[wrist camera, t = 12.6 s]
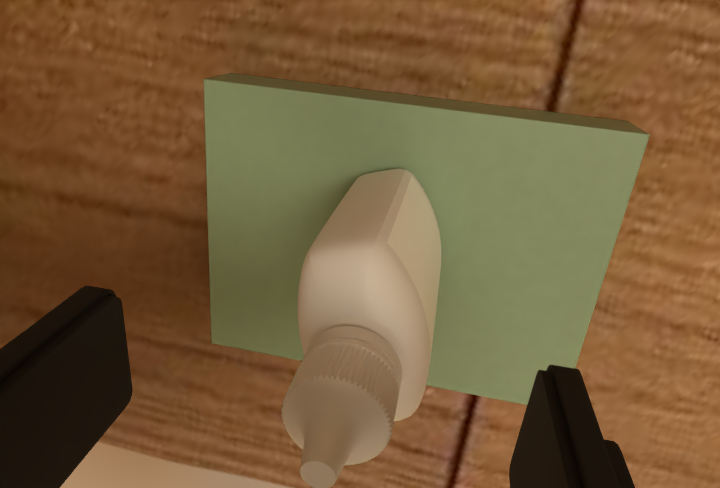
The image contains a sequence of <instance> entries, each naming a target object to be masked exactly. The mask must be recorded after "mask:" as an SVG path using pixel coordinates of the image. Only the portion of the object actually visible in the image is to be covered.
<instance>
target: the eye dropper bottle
mask: <svg viewBox="0 0 720 488" xmlns="http://www.w3.org/2000/svg"><path fill="white" fill-rule="evenodd" d="M440 271H441V238H440V232H439V227H438V223H437V219H436V216H435V213H434V210H433V208H432V205H431V203H430V201H429V199H428V196H427V195H426V193H425V191H424V189H423V187H422V186H421V184H420V183H419V181H418V180H417V179H416V177H415V176H414V175H413V174H412V173H411V172H409V171H408V170H406V169H391V170H385V171H379V172H373V173H368V174H364V175H362V176H360V177H358V178H357V179H356V181H355V182H354V183H353V185H352V186H351V188H350V189H349V190H348V192H347V193H346V195H345V196H344V198H343V199H342V201H341V202H340V203H339V205H338V206H337V208H336V209H335V211H334V212H333V214H332V215H331V217H330V218H329V220H328V221H327V222H326V224H325V225H324V227H323V228H322V230H321V231H320V233H319V235H318V236H317V238H316V239H315V241H314V242H313V244H312V246H311V247H310V249H309V251H308V252H307V254H306V257H305V260H304V263H303V267H302V271H301V277H300V282H299V290H298V325H299V334H300V339H301V344H302V348H303V352H304V357H303V360H302V362H301V364H300V366H299V368H298V370H297V372H296V374H295V376H294V378H293V380H292V382H291V384H290V386H289V388H288V390H287V392H286V394H285V396H284V400H283V404H282V410H281V411H282V418H283V419H282V420H283V422H284V426H285V428H286V430H287V432H288V434H289V436H290V437H291V438H292V440H293V441H294V442H295V443H296V444H297V445H298V446H299V447H300V448H301V449H302V450H303V453H302V461H301V468H300V475H301V477H302V479H303V480H304V482H306V483H307V484H308V485H310V486H311V487H314V488H330V487H331V486H333V485H334V483H335V482H336V480H337V478H338V476H339V474H340V473H341V471H342V469H343V467H344V465H353V464H359V463H363V462H366V461H369V460H370V459H373V458H374V457H375V456H378V454H379V453H381V452H382V450H384V449H385V446H387V445H388V442H389V441H390V437H391V434H392V429H393V424H394V421H399V420H402V419H405V418H408V417H410V416H411V415H412V414H413V413H414V412H415V411H416V410H417V408H418V406H419V404H420V402H421V400H422V397H423V394H424V391H425V387H426V383H427V378H428V374H429V366H430V359H431V351H432V342H433V334H434V325H435V316H436V307H437V298H438V289H439V280H440Z"/></svg>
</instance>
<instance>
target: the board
mask: <svg viewBox="0 0 720 488" xmlns="http://www.w3.org/2000/svg"><path fill="white" fill-rule="evenodd" d="M204 111H205V144H206V178H207V211H208V244H209V278H210V311H211V343H214V344H219V345H224V346H229V347H234V348H239V349H244V350H249V351H254V352H259V353H265V354H270V355H275V356H280V357H285V358H290V359H295V360H300V361H302V360H303V357H304V352H303V348H302V344H301V339H300V334H299V325H298V290H299V282H300V277H301V271H302V267H303V263H304V260H305V257H306V254H307V252H308V251H309V249H310V247H311V246H312V244H313V242H314V241H315V239H316V238H317V236H318V235H319V233H320V231H321V230H322V228H323V227H324V225H325V224H326V222H327V221H328V220H329V218H330V217H331V215H332V214H333V212H334V211H335V209H336V208H337V206H338V205H339V203H340V202H341V201H342V199H343V198H344V196H345V195H346V193H347V192H348V190H349V189H350V188H351V186H352V185H353V183H354V182H355V181H356V179H357V178H358V177H360V176H362V175H364V174H368V173H373V172H379V171H385V170H391V169H406V170H408V171H409V172H411V173H412V174H413V175H414V176H415V177H416V179H417V180H418V181H419V183H420V184H421V186H422V187H423V189H424V191H425V193H426V195H427V196H428V199H429V201H430V203H431V205H432V208H433V210H434V213H435V216H436V219H437V223H438V227H439V232H440V238H441V271H440V280H439V289H438V298H437V307H436V316H435V325H434V334H433V342H432V351H431V359H430V366H429V374H428V378H427V383H426V385H427V386H432V387H437V388H443V389H448V390H453V391H458V392H463V393H468V394H473V395H478V396H483V397H488V398H493V399H499V400H504V401H509V402H514V403H519V404H524V405H528V401H529V398H530V395H531V391H532V388H533V384H534V381H535V377H536V374H537V372H538V370H545V371H546V370H547V368H548V366H549V365H557V366H563V367H569V368H574V369H575V367H576V363H577V360H578V357H579V354H580V351H581V348H582V345H583V342H584V339H585V335H586V332H587V329H588V326H589V323H590V320H591V317H592V314H593V310H594V307H595V304H596V301H597V298H598V295H599V292H600V289H601V285H602V282H603V279H604V276H605V273H606V270H607V267H608V264H609V261H610V257H611V254H612V251H613V248H614V245H615V242H616V239H617V236H618V232H619V229H620V226H621V223H622V220H623V217H624V214H625V211H626V207H627V204H628V201H629V198H630V195H631V192H632V189H633V186H634V182H635V179H636V176H637V173H638V170H639V167H640V164H641V161H642V158H643V154H644V151H645V148H646V145H647V142H648V139H649V134H648V133H646V132H645V131H643V130H641V129H640V128H638V127H637V126H635V125H633V124H632V123H630V122H629V121H621V120H613V119H604V118H596V117H588V116H580V115H572V114H563V113H555V112H547V111H539V110H530V109H522V108H514V107H506V106H498V105H489V104H481V103H473V102H465V101H456V100H448V99H440V98H432V97H424V96H415V95H407V94H399V93H391V92H382V91H374V90H366V89H358V88H350V87H341V86H333V85H325V84H317V83H308V82H300V81H292V80H284V79H276V78H267V77H259V76H251V75H243V74H234V73H229V74H225V75H220V76H216V77H211V78H207V79H204Z"/></svg>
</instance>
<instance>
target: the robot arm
mask: <svg viewBox="0 0 720 488" xmlns="http://www.w3.org/2000/svg"><path fill="white" fill-rule="evenodd" d="M131 396H132V381H131V373H130V365H129V357H128V349H127V341H126V333H125V325H124V317H123V309H122V302H121V300H120V298H118V297H116V294H115V293H114V291H112V290H110V289H104V288H99V287H93V286H85V287H83V288H81V289H80V290H78V291H77V292H76V293H74V294H73V295H72V296H70V297H69V298H68V299H66V300H65V301H64V302H62V303H61V304H60V305H58V306H57V307H56V308H54V309H53V310H52V311H50V312H49V313H48V314H46V315H45V316H44V317H43V318H41V319H40V320H39V321H37V322H36V323H35V324H33V325H32V326H31V327H29V328H28V329H27V330H25V331H24V332H23V333H21V334H20V335H19V336H17V337H16V338H15V339H13V340H12V341H11V342H9V343H8V344H7V345H5V346H4V347H3V348H1V349H0V488H60V487H61V485H62V484H63V483H64V482H65V480H66V479H67V478H68V477H69V476H70V474H71V473H72V472H73V471H74V469H75V468H76V467H77V466H78V465H79V463H80V462H81V461H82V460H83V459H84V457H85V456H86V455H87V454H88V452H89V451H90V450H91V449H92V447H93V446H94V445H95V444H96V443H97V442H98V440H99V439H100V438H101V437H102V435H103V434H104V433H105V432H106V431H107V429H108V428H109V427H110V426H111V424H112V423H113V422H114V421H115V420H116V418H117V417H118V416H119V415H120V414H121V412H122V411H123V410H124V409H125V407H126V406H127V405H128V403H129V401H130V399H131ZM509 479H510V488H635V486H634V484H633V481H632V478H631V476H630V473H629V470H628V468H627V465H626V462H625V460H624V457H623V454H622V452H621V450H620V448H619V446H618V444H616V443H615V442H614V441H609V440H604V439H603V436H602V434H601V431H600V428H599V425H598V422H597V419H596V416H595V413H594V410H593V407H592V405H591V402H590V399H589V396H588V393H587V390H586V387H585V384H584V381H583V378H582V376H581V373H580V371H579V370H578V369H574V368H569V367H563V366H557V365H549V366H548V368H547V370H546V371H545V370H538V372H537V374H536V377H535V381H534V384H533V388H532V391H531V395H530V398H529V401H528V405H527V408H526V412H525V415H524V419H523V422H522V425H521V429H520V432H519V436H518V439H517V443H516V446H515V449H514V453H513V456H512V460H511V464H510V472H509Z"/></svg>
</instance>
